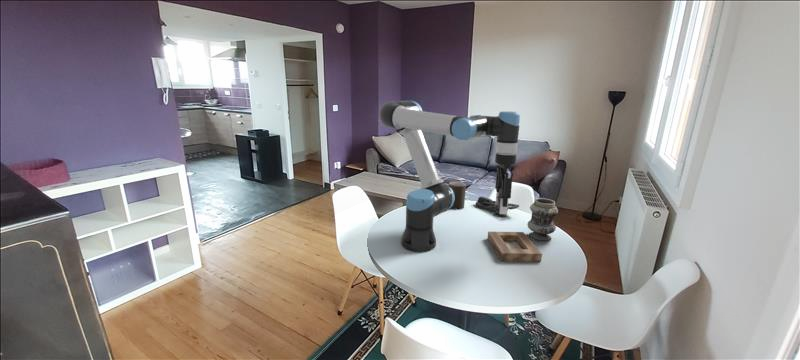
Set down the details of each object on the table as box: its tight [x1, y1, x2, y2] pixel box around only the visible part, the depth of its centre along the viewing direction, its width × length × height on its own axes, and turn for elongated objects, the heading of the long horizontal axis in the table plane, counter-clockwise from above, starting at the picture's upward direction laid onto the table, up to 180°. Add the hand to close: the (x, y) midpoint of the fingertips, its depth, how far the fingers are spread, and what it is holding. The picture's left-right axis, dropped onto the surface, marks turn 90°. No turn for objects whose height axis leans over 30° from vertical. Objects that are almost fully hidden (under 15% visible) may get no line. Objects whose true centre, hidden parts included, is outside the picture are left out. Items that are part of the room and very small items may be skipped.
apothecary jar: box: [526, 197, 559, 243], centre depth 151 cm, size 12×12×18 cm
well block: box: [487, 231, 543, 263], centre depth 141 cm, size 16×20×4 cm
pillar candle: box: [448, 181, 467, 211], centre depth 188 cm, size 10×10×15 cm
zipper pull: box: [475, 196, 520, 214], centre depth 184 cm, size 9×7×25 cm
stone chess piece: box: [493, 188, 510, 219], centre depth 130 cm, size 6×6×12 cm
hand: (500, 210), depth 131 cm, fingers closed on stone chess piece, 6 cm apart
